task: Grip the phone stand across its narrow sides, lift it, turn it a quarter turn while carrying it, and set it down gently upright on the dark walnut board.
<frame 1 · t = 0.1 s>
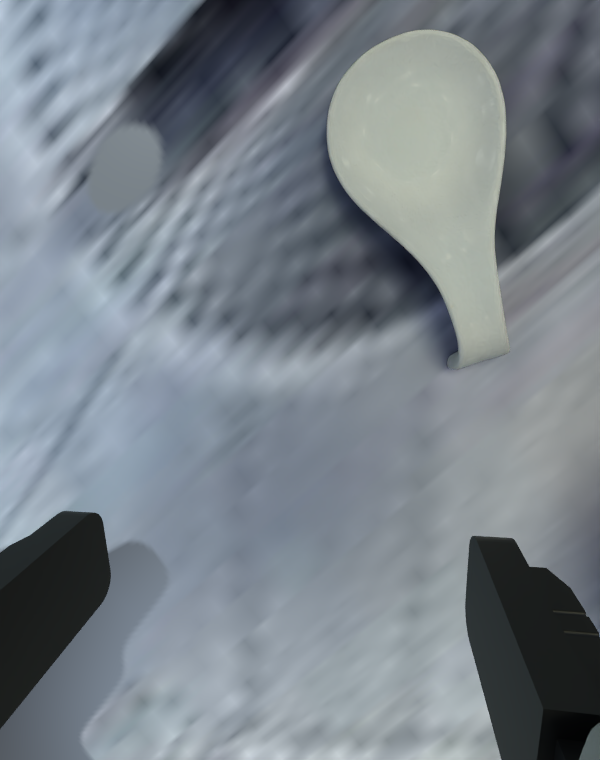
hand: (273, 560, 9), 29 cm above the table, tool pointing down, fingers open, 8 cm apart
spoon rest: (432, 218, 35), on the table
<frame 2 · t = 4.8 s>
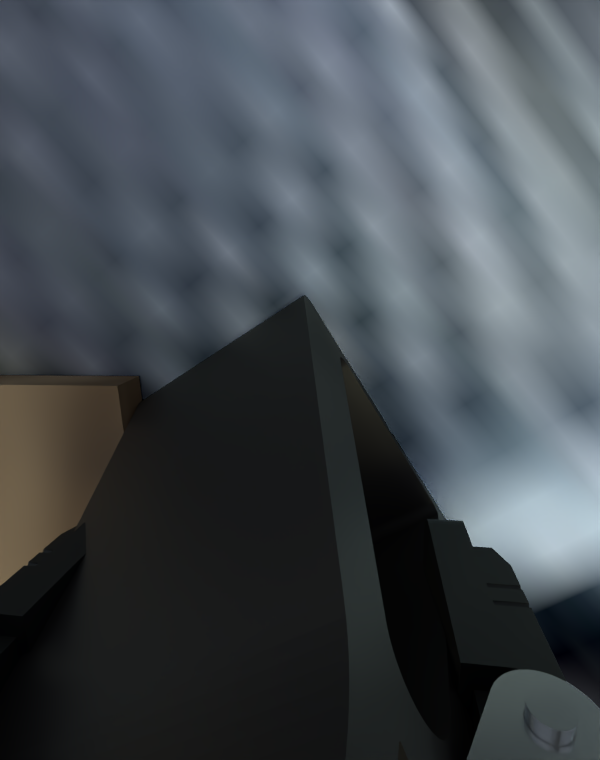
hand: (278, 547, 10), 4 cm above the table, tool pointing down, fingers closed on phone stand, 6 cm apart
phone stand: (304, 470, 14), on the table, touching gripper
when the fingers open (6 cm above the table, at t = 11.5 s): phone stand drops 1 cm, resting on walnut board.
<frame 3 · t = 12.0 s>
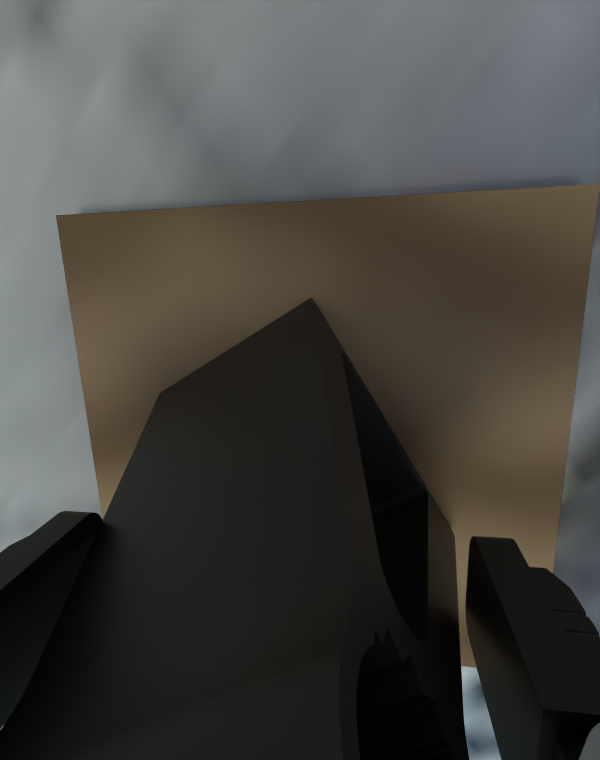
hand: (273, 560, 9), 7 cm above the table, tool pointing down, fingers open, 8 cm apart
walnut board: (313, 441, 16), on the table
phone stand: (308, 456, 15), point 1 cm above the table, touching walnut board
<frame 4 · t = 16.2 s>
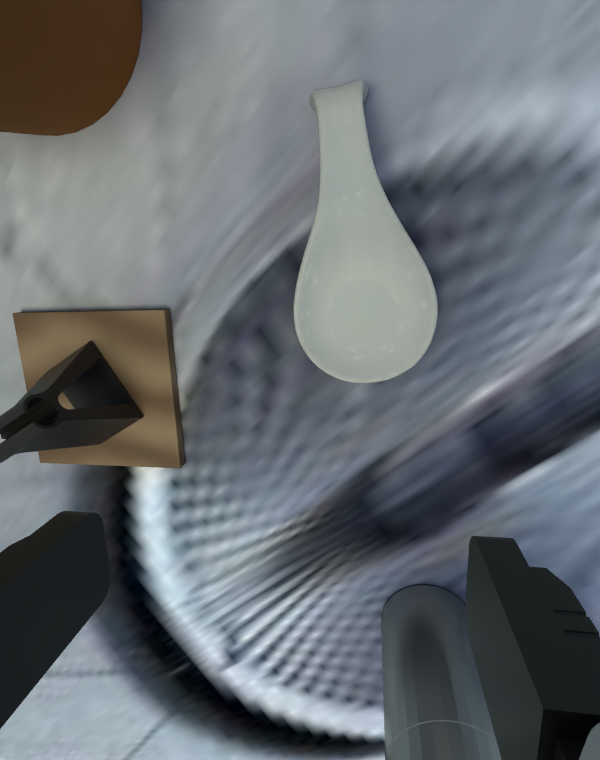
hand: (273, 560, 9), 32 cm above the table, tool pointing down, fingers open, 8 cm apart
walnut board: (104, 388, 45), on the table
spoon rest: (355, 244, 39), on the table
phone stand: (98, 392, 44), point 1 cm above the table, touching walnut board
flowerpot: (43, 18, 38), on the table
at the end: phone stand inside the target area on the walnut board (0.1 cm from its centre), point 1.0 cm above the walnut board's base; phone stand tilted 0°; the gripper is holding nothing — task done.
